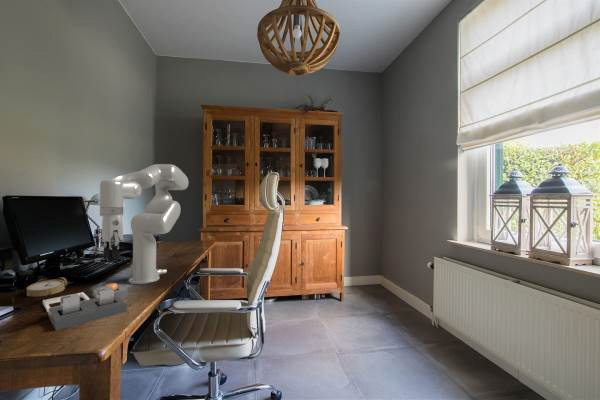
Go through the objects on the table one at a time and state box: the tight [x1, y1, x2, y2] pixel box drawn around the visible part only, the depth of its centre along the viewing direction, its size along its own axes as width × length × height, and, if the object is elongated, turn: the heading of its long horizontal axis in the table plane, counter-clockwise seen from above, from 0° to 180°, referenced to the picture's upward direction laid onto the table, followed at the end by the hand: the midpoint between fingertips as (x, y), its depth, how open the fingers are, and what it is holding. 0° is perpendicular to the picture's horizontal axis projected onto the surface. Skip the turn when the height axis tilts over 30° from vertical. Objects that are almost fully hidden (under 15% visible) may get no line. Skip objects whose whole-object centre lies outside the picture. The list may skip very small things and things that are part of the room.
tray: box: [42, 291, 90, 313], centre depth 98 cm, size 12×12×2 cm
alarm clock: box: [26, 277, 68, 298], centre depth 111 cm, size 11×5×15 cm
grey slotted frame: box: [48, 294, 128, 331], centre depth 89 cm, size 18×14×3 cm
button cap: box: [104, 282, 118, 291], centre depth 105 cm, size 4×4×2 cm
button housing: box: [93, 284, 129, 299], centre depth 105 cm, size 9×9×3 cm
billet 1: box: [60, 293, 81, 316], centre depth 86 cm, size 4×4×7 cm
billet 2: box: [96, 286, 114, 307], centre depth 93 cm, size 4×4×7 cm
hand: (111, 258), depth 105 cm, fingers open, 5 cm apart
